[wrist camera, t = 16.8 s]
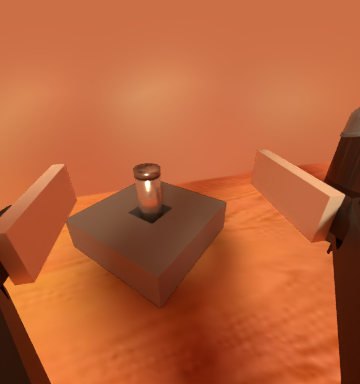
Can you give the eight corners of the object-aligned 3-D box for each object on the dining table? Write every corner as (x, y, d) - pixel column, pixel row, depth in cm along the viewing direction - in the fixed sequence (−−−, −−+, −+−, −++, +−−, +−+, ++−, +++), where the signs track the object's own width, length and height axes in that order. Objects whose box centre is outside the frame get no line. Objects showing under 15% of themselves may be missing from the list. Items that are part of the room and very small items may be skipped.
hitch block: (149, 198, 51) (147, 176, 48) (223, 227, 41) (226, 202, 38) (74, 246, 36) (64, 219, 33) (160, 308, 27) (158, 277, 24)
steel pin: (152, 226, 41) (146, 161, 34) (168, 234, 39) (165, 166, 32) (137, 238, 38) (127, 169, 31) (154, 247, 36) (147, 175, 29)
